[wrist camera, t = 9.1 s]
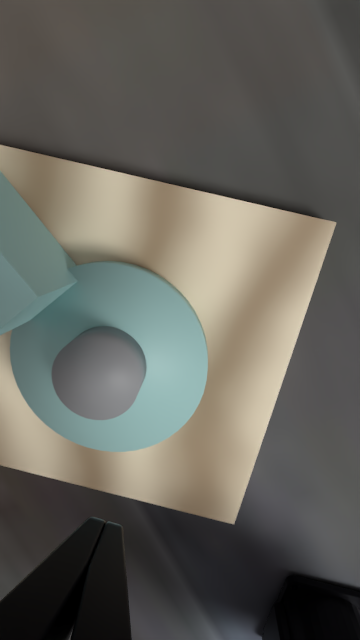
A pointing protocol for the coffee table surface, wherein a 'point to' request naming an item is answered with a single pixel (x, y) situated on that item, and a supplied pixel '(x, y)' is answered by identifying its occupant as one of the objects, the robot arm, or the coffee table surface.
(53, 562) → the robot arm
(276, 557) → the coffee table surface
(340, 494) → the coffee table surface
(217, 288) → the post board
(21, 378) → the flange
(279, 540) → the coffee table surface
